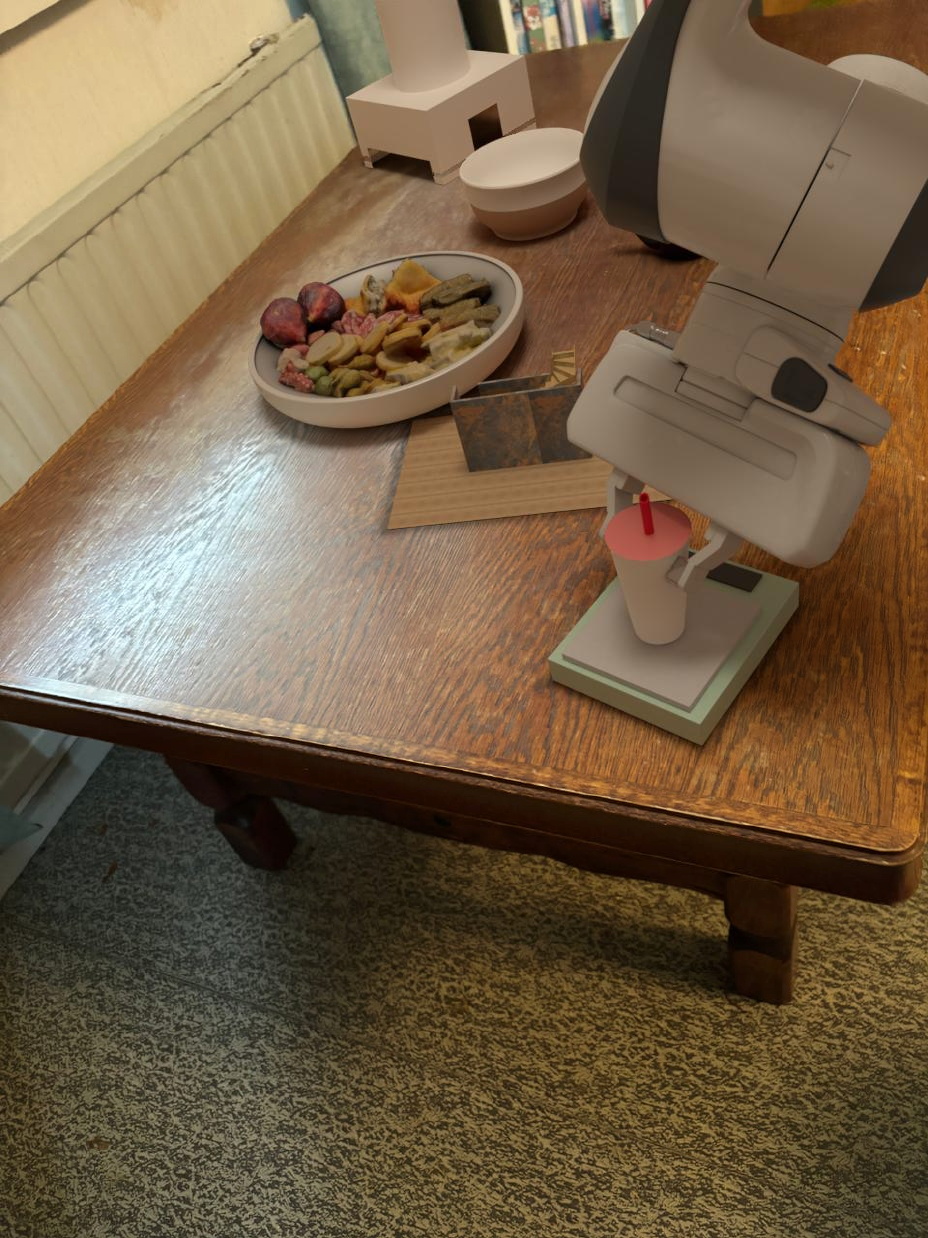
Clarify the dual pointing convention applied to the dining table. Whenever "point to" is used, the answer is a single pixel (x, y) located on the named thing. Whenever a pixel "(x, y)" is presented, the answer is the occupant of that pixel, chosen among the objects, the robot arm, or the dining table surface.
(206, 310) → the dining table surface
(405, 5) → the paper towel holder
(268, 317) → the bowl
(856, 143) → the robot arm
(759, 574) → the scale
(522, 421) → the ruin model on sheet
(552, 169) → the bowl
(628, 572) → the cup
